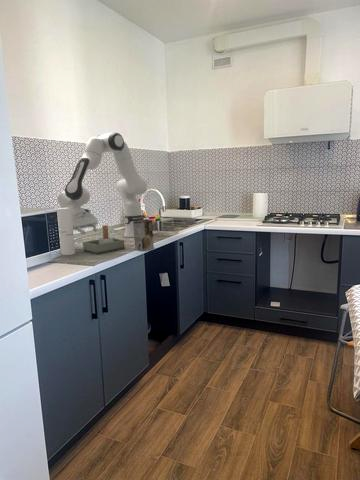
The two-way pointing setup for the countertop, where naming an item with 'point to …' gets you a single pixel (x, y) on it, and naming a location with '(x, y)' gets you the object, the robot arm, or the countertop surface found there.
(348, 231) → the countertop surface
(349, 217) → the countertop surface
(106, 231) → the brown wooden cylinder
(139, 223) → the coffee box
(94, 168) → the robot arm
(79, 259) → the countertop surface
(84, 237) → the countertop surface
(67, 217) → the cylindrical container
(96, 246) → the grey open box
